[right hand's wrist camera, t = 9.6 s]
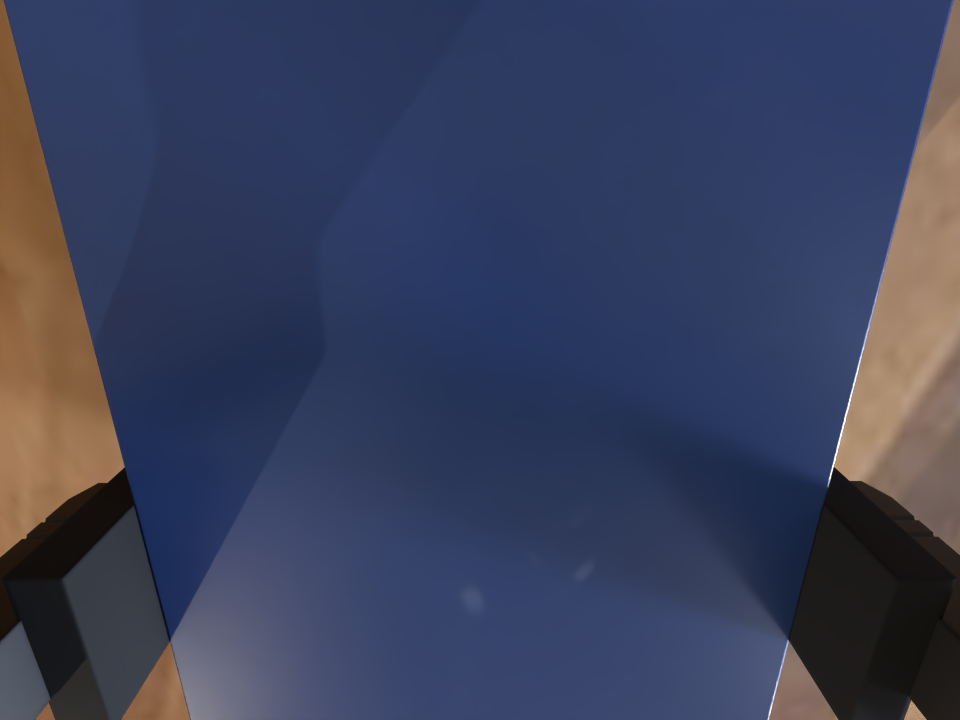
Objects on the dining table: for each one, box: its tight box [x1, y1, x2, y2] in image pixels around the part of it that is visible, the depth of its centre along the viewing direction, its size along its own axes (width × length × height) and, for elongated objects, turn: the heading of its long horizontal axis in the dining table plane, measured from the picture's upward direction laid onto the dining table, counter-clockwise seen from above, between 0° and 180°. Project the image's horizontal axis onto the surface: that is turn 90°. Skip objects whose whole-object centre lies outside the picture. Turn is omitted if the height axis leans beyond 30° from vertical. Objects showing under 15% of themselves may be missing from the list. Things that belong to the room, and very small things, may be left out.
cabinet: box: [4, 0, 953, 720], centre depth 11 cm, size 17×10×8 cm, turn 0°
